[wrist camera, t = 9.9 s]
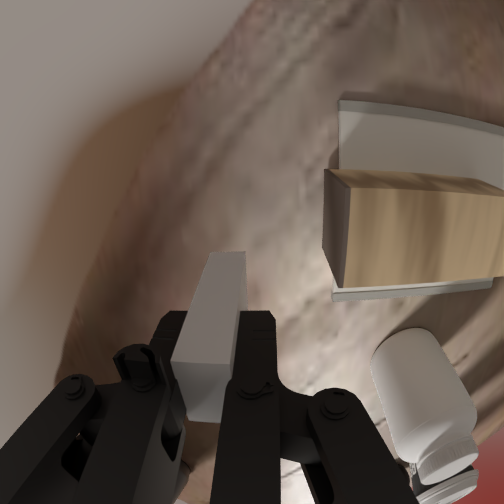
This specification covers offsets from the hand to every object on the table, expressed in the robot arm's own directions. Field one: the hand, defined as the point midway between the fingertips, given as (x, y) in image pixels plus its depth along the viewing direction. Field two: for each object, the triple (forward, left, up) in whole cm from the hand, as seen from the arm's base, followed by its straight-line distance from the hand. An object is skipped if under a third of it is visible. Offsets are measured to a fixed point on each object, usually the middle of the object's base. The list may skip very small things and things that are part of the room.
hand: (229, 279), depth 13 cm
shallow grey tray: (+16, 0, -10) cm, 19 cm away
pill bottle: (+16, -16, -10) cm, 25 cm away
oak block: (+6, 0, -7) cm, 9 cm away
